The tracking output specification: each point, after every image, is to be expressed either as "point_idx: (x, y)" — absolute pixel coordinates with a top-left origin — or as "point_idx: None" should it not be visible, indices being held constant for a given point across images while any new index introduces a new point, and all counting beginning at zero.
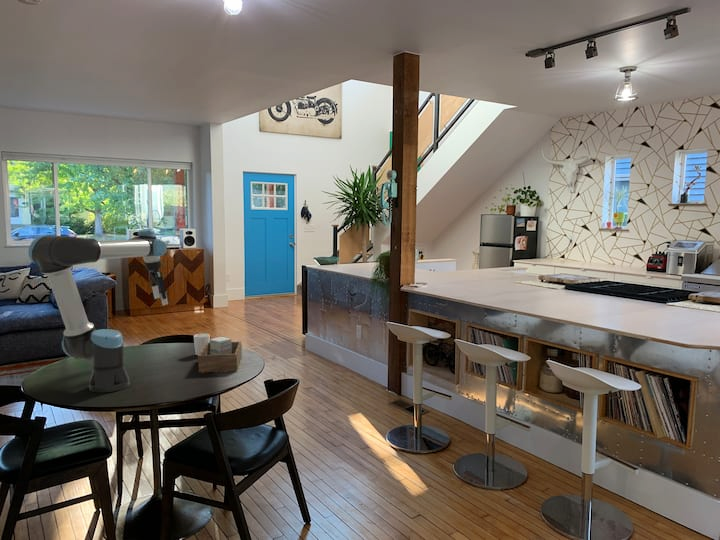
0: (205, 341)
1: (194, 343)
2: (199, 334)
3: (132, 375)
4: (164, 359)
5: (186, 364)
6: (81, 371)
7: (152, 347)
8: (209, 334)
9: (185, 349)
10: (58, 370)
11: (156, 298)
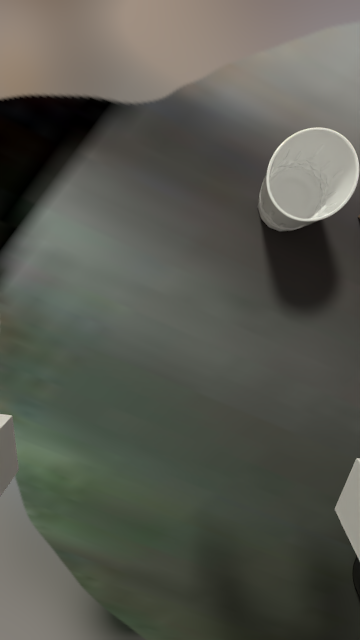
0: (344, 182)
1: (289, 226)
2: (269, 171)
3: None
4: (243, 342)
5: None
6: (190, 559)
7: (54, 304)
8: (327, 129)
9: (163, 222)
10: (136, 589)
11: (15, 456)
